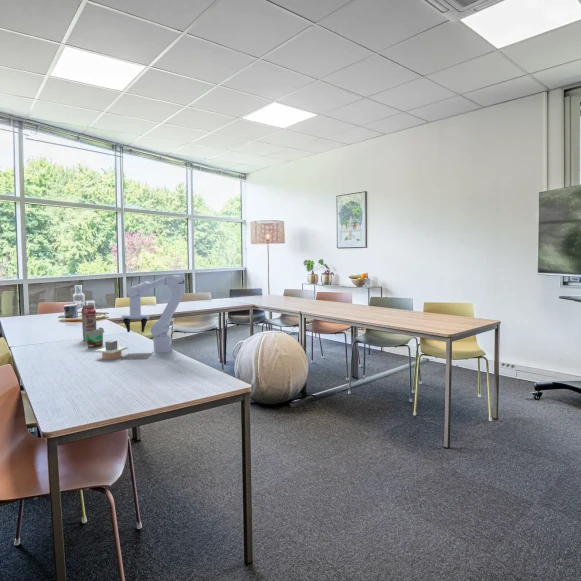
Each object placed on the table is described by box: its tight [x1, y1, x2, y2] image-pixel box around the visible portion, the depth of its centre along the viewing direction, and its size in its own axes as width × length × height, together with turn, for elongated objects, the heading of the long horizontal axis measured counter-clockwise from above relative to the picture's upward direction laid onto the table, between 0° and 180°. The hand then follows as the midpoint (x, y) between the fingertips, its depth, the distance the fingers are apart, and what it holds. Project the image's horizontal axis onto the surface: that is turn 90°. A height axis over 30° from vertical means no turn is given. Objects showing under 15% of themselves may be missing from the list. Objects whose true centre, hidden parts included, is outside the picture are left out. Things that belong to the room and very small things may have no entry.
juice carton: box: [81, 304, 97, 342], centre depth 258 cm, size 7×7×22 cm
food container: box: [86, 327, 105, 349], centre depth 241 cm, size 12×6×10 cm, turn 168°
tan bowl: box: [101, 351, 123, 360], centre depth 215 cm, size 9×9×4 cm
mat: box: [120, 352, 154, 361], centre depth 216 cm, size 13×13×1 cm
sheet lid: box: [94, 339, 129, 354], centre depth 215 cm, size 11×11×5 cm
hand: (135, 331), depth 231 cm, fingers open, 7 cm apart
